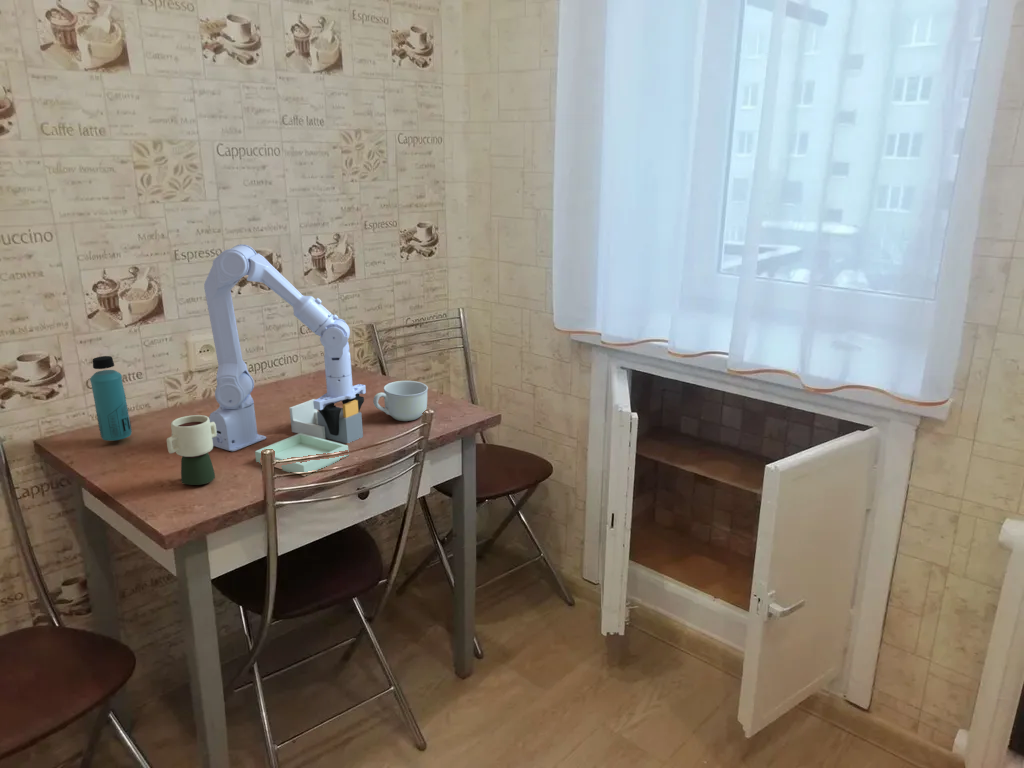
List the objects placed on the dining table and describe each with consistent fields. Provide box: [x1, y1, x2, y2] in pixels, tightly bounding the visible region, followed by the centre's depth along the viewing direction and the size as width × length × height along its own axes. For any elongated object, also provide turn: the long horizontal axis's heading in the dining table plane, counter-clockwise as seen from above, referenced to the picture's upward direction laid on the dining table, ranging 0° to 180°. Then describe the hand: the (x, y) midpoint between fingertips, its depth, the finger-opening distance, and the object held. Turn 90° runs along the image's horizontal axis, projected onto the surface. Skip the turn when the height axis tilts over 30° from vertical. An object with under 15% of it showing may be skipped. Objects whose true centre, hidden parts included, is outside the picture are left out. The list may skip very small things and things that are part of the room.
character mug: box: [166, 414, 217, 486], centre depth 145 cm, size 11×7×13 cm, turn 150°
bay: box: [288, 398, 327, 440], centre depth 173 cm, size 8×10×6 cm
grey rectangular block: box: [317, 400, 364, 444], centre depth 169 cm, size 5×9×9 cm, turn 58°
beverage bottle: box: [89, 355, 133, 442], centre depth 165 cm, size 6×7×20 cm
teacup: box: [372, 380, 429, 422], centre depth 181 cm, size 14×11×8 cm
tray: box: [254, 433, 350, 473], centre depth 157 cm, size 13×15×2 cm
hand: (343, 430), depth 169 cm, fingers closed on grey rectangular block, 5 cm apart
